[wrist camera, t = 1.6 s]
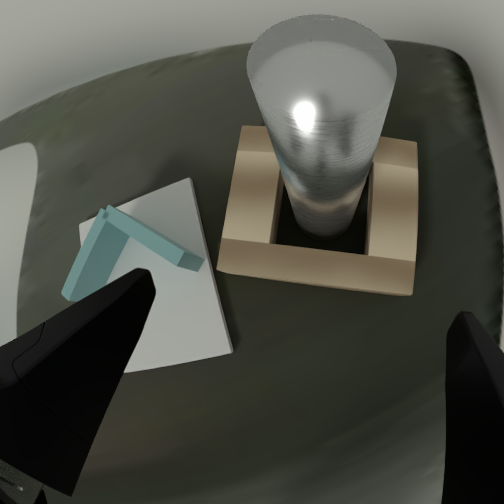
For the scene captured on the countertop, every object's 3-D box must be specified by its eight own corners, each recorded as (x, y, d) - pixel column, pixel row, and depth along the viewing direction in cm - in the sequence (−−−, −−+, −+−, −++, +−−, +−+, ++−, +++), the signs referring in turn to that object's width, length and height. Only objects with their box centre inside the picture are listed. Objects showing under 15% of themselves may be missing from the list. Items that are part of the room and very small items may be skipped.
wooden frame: (402, 296, 20) (412, 294, 17) (227, 273, 22) (216, 269, 20) (408, 157, 21) (416, 142, 18) (250, 142, 24) (242, 125, 21)
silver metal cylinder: (362, 226, 21) (426, 88, 6) (309, 250, 21) (286, 143, 7) (336, 176, 22) (344, 3, 7) (285, 199, 22) (225, 43, 8)
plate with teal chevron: (233, 351, 21) (214, 361, 17) (109, 374, 23) (77, 382, 19) (192, 180, 24) (169, 158, 20) (83, 226, 26) (52, 214, 22)
